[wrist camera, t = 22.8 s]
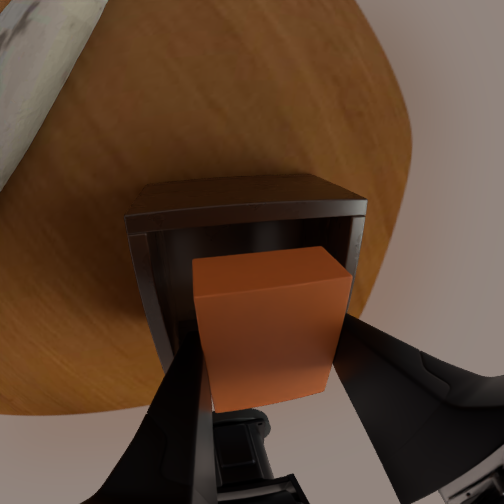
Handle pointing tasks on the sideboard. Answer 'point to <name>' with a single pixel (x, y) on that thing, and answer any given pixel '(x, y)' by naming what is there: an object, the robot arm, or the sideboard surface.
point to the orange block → (269, 323)
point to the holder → (229, 236)
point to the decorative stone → (37, 66)
